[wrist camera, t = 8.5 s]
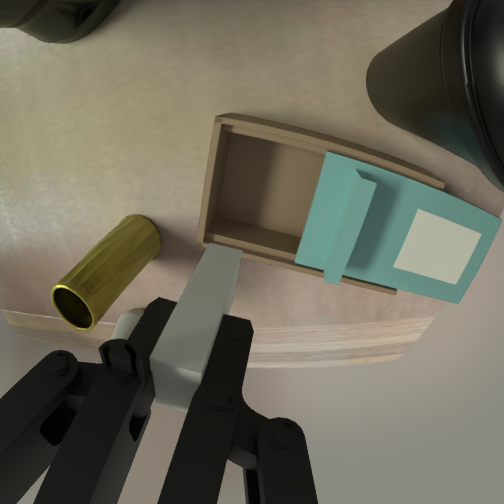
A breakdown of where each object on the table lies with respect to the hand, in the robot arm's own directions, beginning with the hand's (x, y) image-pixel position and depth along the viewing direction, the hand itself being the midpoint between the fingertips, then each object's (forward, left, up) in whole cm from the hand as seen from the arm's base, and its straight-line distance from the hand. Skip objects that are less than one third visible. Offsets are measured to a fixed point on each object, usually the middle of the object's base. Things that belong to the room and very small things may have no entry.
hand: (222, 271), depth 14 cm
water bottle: (-13, +11, -18) cm, 25 cm away
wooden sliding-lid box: (+1, +5, -18) cm, 19 cm away
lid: (+1, +14, -13) cm, 19 cm away
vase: (+11, -13, -18) cm, 25 cm away
